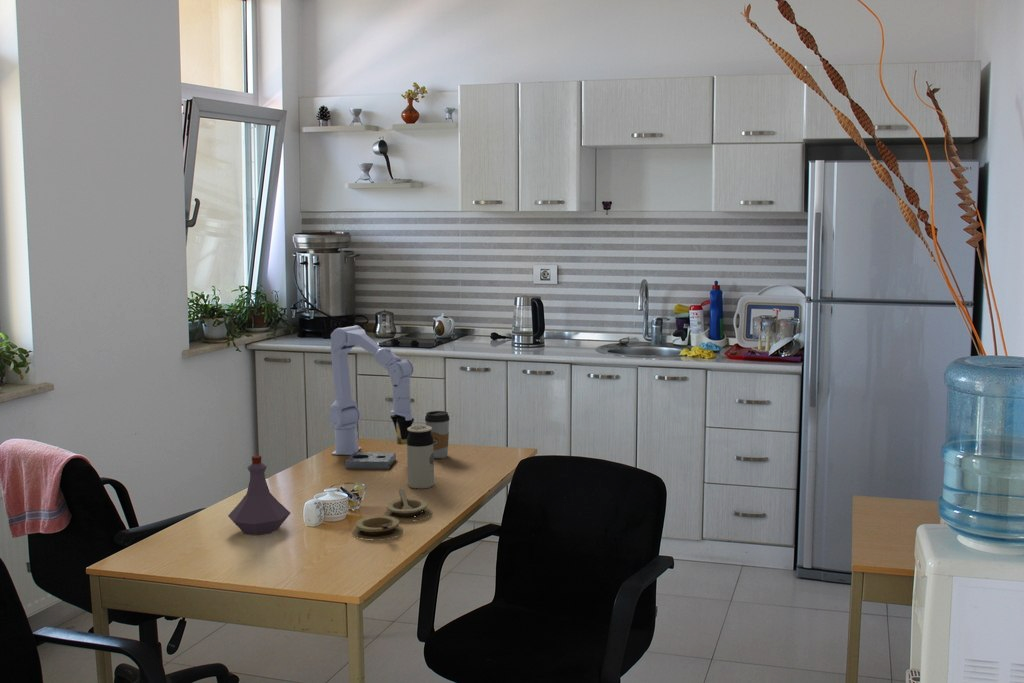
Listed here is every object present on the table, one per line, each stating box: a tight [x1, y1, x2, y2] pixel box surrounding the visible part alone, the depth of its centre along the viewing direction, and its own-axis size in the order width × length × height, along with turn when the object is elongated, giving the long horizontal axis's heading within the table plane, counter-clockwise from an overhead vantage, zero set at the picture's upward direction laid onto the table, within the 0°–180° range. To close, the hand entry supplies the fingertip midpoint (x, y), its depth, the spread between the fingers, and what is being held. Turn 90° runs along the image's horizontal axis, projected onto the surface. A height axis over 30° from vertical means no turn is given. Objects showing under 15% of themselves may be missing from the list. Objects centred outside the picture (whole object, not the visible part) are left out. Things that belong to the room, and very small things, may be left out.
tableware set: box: [351, 487, 433, 541], centre depth 278 cm, size 30×20×6 cm, turn 158°
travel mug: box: [406, 424, 435, 490], centre depth 312 cm, size 8×8×18 cm
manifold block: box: [344, 451, 397, 470], centre depth 339 cm, size 12×14×2 cm
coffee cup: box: [424, 410, 450, 459], centre depth 347 cm, size 8×8×15 cm
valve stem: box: [395, 422, 407, 446], centre depth 339 cm, size 4×4×7 cm
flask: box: [227, 455, 291, 537], centre depth 273 cm, size 16×16×20 cm
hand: (402, 437), depth 339 cm, fingers closed on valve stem, 4 cm apart
